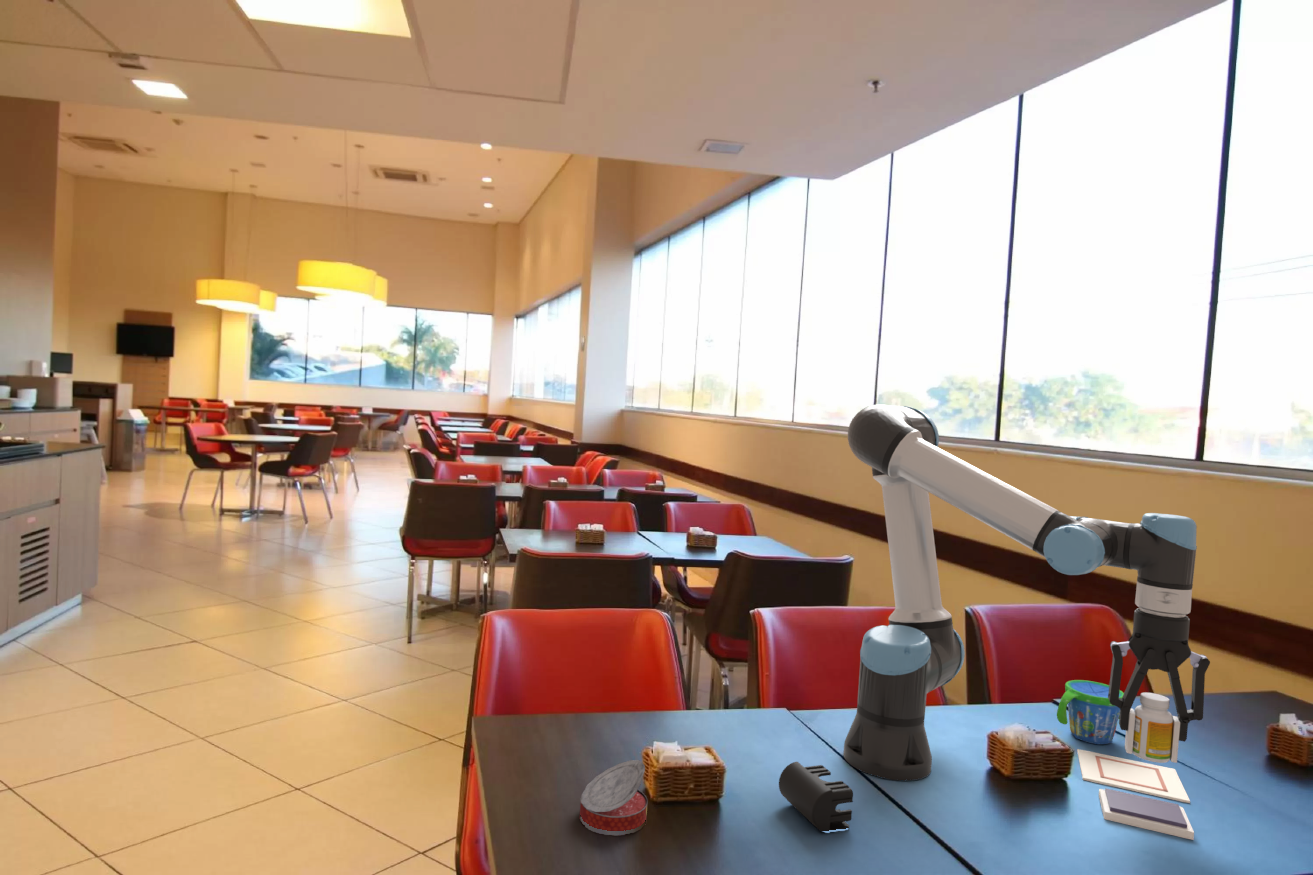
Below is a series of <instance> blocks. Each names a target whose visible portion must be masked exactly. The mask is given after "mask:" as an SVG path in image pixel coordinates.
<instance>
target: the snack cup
mask: <svg viewBox="0 0 1313 875" xmlns="http://www.w3.org/2000/svg"><path fill="white" fill-rule="evenodd" d="M1064 688H1065V690H1064V691H1065V692H1064V693H1063V695H1062V696H1061V698H1060V701H1059V704H1058V708H1057V711H1056V719H1057V720H1058V722H1059V723H1060V724H1063V725H1067V724H1069V731H1070V734H1072V736H1074V737H1075V739H1078V740H1081V741H1083V742H1086V743H1088V744H1093V745H1108V744H1112V742H1113V740H1114V737H1115V733H1116V729H1117V726H1118V722H1119V716H1120V708H1119V707H1117V706H1115V705H1112V704H1110V701H1109V699H1108V693H1109V684H1106V683H1103V682H1097V681H1091V680H1084V679H1074V680H1073V679H1072V680H1068V681H1066V682H1065V684H1064ZM1123 694H1124V692H1123V691H1122V690H1120V691H1119V698H1121V699H1122V697H1123ZM1067 708H1068V709H1067ZM1067 710H1068V713H1067ZM1067 714H1068V716H1067ZM1068 722H1069V723H1068Z"/></svg>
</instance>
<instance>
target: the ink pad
mask: <svg viewBox="0 0 1313 875" xmlns="http://www.w3.org/2000/svg"><path fill="white" fill-rule="evenodd" d="M1098 799H1099V802H1100V806H1101V811H1102V816H1103V819H1104V820H1107V821H1110V822H1111V821H1112V822H1115V823H1119V824H1123V825H1127V826H1128V825H1129V826H1132V827H1137V828H1140V829H1145V830H1149V831H1153V832H1158V833H1162V834H1166V835H1170V836H1175V837H1179V838H1183V839H1187V840H1190V841H1191V840H1193V841H1194V840H1195V839H1194V838H1195V831H1194V828H1193V827H1192V825H1191V822H1190V820H1189V817H1188V815H1187V813H1186V811H1185V809H1184V807H1182V806H1180V805H1179V804H1178V803H1173V802H1169V801H1165V800H1160V799H1155V798H1152V797H1146V796H1142V795H1138V794H1134V793H1133V794H1132V793H1129V792H1124V791H1119V790H1114V789H1110V788H1107V787H1105V788H1104V789H1103V788H1099V789H1098Z"/></svg>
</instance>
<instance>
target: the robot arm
mask: <svg viewBox="0 0 1313 875" xmlns="http://www.w3.org/2000/svg"><path fill="white" fill-rule="evenodd" d="M939 436H940V435H939V431H938V428H937V425H936V424H935V422H934V420H933V419H932V418H931V417H930V416H929V415H928V414H926V413H925V412H923V411H921V410H919V409H916V408H915V407H912V406H907V405H903V406H901V405H889V404H871V405H869V406H866V407H864V408H862V409H861V410H860V411H858V412H857V413H856V414H855V415H854V417H853V418H852V419H851V421H850V423H849V426H848V430H847V440H848V442H847V443H848V446H849V448H850V450H851V452H852V453H853V454H854V456H855V457H856V459H858V460H860V462H862V463H863V464H865V465H867V466H869V467H871V472H872V478H873V480H875V481H876V482H877V483H879V485H880V486H881V491H882V499H883V501H882V502H883V509H884V510H883V511H884V518H885V527H886V535H887V543H888V552H889V560H890V563H889V564H890V570H891V579H892V587H893V594H894V595H893V596H894V605H895V608H894V610H893V611H892V613H891V614H890V615H889V616H888V625H882V624H881V625H877V626H874V627H872V628H870V629H869V630H867V631H866V632H865V633H864V635H863V639H862V643H861V647H860V650H859V654H860V655H859V656H860V660H859V675H858V687H857V688H858V690H857V706H856V714H855V716H854V718H853V721H852V724H851V726H850V728H849V730H848V733H847V735H846V736H845V737H846V738H845V740H844V742H843V743H844V744H843V745H844V746H843V758H844V759H845V761H846V762H847V763H848V764H849V765H850V766H852V767H853V768H855V769H857V770H858V771H860V770H861V772H863V773H865V774H867V773H868V775H870V774H872V775H871V776H873V775H875V776H874V777H877V776H878V777H877V778H880V777H882V778H881V779H885V778H886V780H892V781H901V780H903V781H905V780H906V782H907V781H917V780H922V779H924V778H926V777H928V776H929V775H930V773H931V772H932V765H933V756H932V752H931V748H930V744H929V739H928V736H927V731H926V728H925V716H926V706H927V694H929V693H930V692H932V691H934V690H936V689H937V688H939V687H942V686H945V685H946V684H948V683H950V682H951V681H952V680H953V679H954V678H955V677H956V676H957V674H959V672H960V671H961V669H962V668H963V666H964V662H965V655H966V654H965V646H964V643H963V639H962V638H961V635H960V634H959V633H958V632H957V630H955V628H954V624H953V616H952V614H951V613H950V612H949V611H948V610H947V609H946V608H944V606H943V603H942V595H941V594H942V593H941V587H940V584H941V583H940V576H939V568H938V560H937V553H936V544H935V535H934V527H933V526H934V525H933V520H932V510H931V503H930V494H932V495H933V496H935V497H937V498H939V499H941V500H942V501H944V502H946V503H948V504H949V505H951V506H953V507H955V508H957V509H959V510H960V511H962V512H964V513H965V514H967V515H969V516H970V517H973V518H975V519H976V520H978V521H980V522H981V523H984V524H985V525H987V526H989V527H990V528H992V529H994V530H996V531H997V532H1000V533H1001V534H1003V535H1004V536H1006V537H1009V539H1012V540H1014V541H1016V542H1017V543H1019V544H1021V545H1022V546H1024V547H1026V548H1028V549H1029V550H1032V551H1033V552H1035V553H1037V554H1038V555H1040V556H1041V557H1043V558H1045V560H1046V561H1047V563H1048V565H1050V567H1052V568H1053V570H1055V571H1057V572H1058V573H1061V574H1064V575H1067V576H1080V575H1086V574H1089V573H1091V572H1093V571H1095V570H1096V569H1098V568H1100V567H1102V566H1105V567H1113V568H1120V569H1121V568H1122V569H1126V570H1127V569H1128V570H1135V571H1137V578H1136V588H1135V590H1136V591H1135V599H1134V604H1135V605H1136V606H1137V607H1138V608H1136V609H1135V610H1134V613H1133V625H1132V626H1133V627H1132V632H1131V633H1132V634H1131V636H1130V637H1129V638H1128V640H1127V641H1121V642H1117V641H1115V640H1113V641H1111V642H1110V644H1109V646H1110V650H1111V653H1112V661H1111V668H1110V677H1109V678H1110V679H1109V683H1108V685H1109V693H1108V699H1109V701H1110V704H1112V705H1115V706H1117V707H1119V708H1120V716H1119V719H1118V724H1119V727H1120V730H1122V731H1125V737H1124V739H1125V740H1124V749H1125V752H1126V753H1127V754H1130V755H1133V753H1132V749H1133V737H1134V725H1135V712H1134V710H1135V709H1134V708H1132V706H1133V705H1134V703H1135V700H1136V698H1137V695H1138V692H1139V691H1140V689H1141V686H1142V684H1143V681H1144V679H1145V678H1146V676H1147V674H1148V672H1149V670H1152V671H1153V670H1159V671H1162V672H1166V673H1167V677H1168V680H1169V683H1170V684H1169V685H1170V689H1171V692H1172V696H1173V701H1174V705H1175V709H1176V710H1175V711H1176V714H1177V715H1176V716H1175V715H1172V716H1173V730H1172V742H1171V756H1170V760H1169V761H1170V762H1171V763H1176V764H1177V763H1178V754H1179V751H1178V750H1179V741H1180V742H1186V741H1187V739H1188V728H1189V724H1190V722H1191V721H1202V720H1203V719H1204V704H1205V703H1204V702H1205V701H1204V700H1205V681H1206V680H1205V679H1206V678H1205V677H1206V672H1207V670H1208V668H1209V666H1210V664H1211V661H1210V659H1209V658H1208V657H1207V656H1206V655H1205V654H1199V653H1197V652H1194V651H1192V650H1191V648H1190V646H1189V637H1190V636H1189V634H1190V622H1191V619H1190V618H1189V616H1187V615H1188V614H1191V610H1192V597H1193V596H1192V595H1193V586H1194V576H1195V575H1194V574H1195V566H1196V565H1195V564H1196V557H1197V556H1196V555H1197V549H1198V548H1197V547H1198V546H1197V528H1198V526H1197V524H1196V523H1197V522H1196V521H1195V520H1193V518H1191V517H1188V516H1184V515H1177V514H1170V513H1169V514H1168V513H1157V512H1148V513H1147V512H1146V513H1144V514H1143V515H1142V517H1141V521H1140V523H1139V522H1138V523H1132V522H1131V523H1130V522H1129V523H1128V522H1121V521H1113V520H1107V519H1101V518H1100V519H1099V518H1091V517H1088V516H1072V515H1068V514H1066V513H1064V512H1062V511H1059V510H1058V509H1056V508H1054V507H1053V506H1051V505H1049V504H1047V503H1045V502H1043V501H1041V500H1040V499H1037V498H1035V497H1033V496H1031V495H1030V494H1028V493H1026V492H1024V491H1022V490H1020V489H1018V488H1016V486H1015V487H1014V486H1013V485H1011V484H1008V483H1006V482H1005V481H1003V480H1001V479H999V478H997V477H995V476H993V475H992V474H989V473H988V472H985V471H983V470H982V469H980V468H978V467H976V466H974V465H972V464H970V463H969V462H967V461H965V460H963V459H961V458H959V457H957V456H955V455H953V454H952V453H949V452H948V451H945V450H944V449H942V448H940V447H939V443H940V437H939ZM929 493H930V494H929ZM1129 650H1131V652H1132V653H1133V654H1134V656H1135V657H1136V659H1137V661H1136V663H1135V666H1134V669H1133V672H1132V673H1131V676H1130V678H1129V681H1128V683H1127V685H1126V688H1125V690H1124V692H1123V693H1124V694H1123V697H1122V699H1121V698H1119V691H1120V689H1121V684H1122V683H1121V682H1122V675H1123V674H1122V673H1123V666H1124V665H1123V664H1124V660H1123V659H1124V658H1123V657H1126V656H1127V655H1128V651H1129ZM1188 659H1189V660H1190V662H1189V663H1190V665H1191V666H1192V676H1191V677H1192V678H1191V695H1190V696H1191V698H1190V700H1191V701H1190V709H1188V708H1187V704H1186V700H1185V695H1184V693H1183V692H1184V691H1183V688H1182V683H1181V680H1180V672H1179V669H1178V668H1179V667H1180V666H1182V665H1183V663H1184V662H1185V661H1187V660H1188ZM903 781H902V782H903Z"/></svg>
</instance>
